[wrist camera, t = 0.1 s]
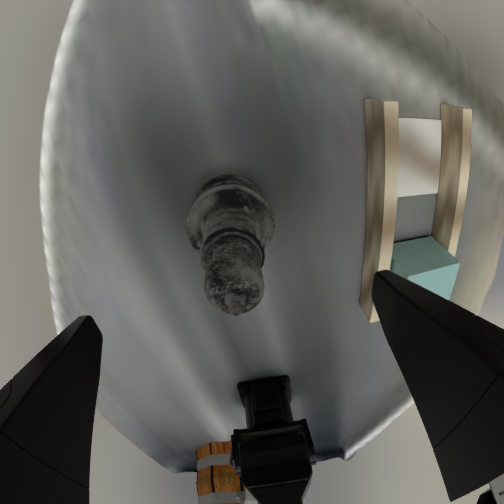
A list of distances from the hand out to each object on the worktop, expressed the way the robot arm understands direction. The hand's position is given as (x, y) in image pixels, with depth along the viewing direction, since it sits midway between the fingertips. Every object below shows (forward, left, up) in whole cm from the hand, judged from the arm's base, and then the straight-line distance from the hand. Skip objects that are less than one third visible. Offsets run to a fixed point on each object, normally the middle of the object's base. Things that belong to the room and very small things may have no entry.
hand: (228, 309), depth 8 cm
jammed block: (-11, -16, -14) cm, 24 cm away
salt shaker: (-3, 0, -15) cm, 15 cm away
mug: (-48, +8, -15) cm, 51 cm away
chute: (-5, -16, -15) cm, 22 cm away
